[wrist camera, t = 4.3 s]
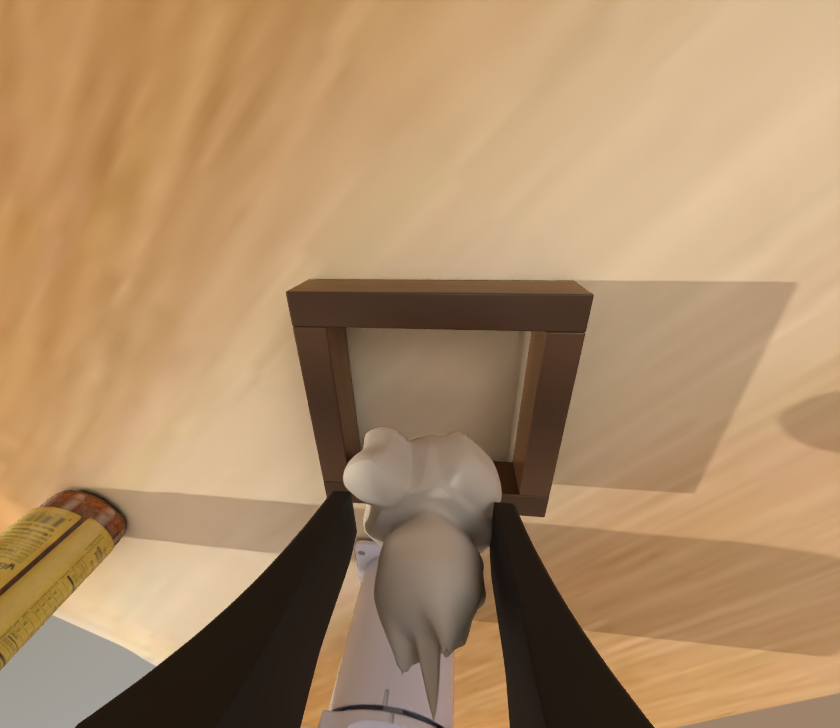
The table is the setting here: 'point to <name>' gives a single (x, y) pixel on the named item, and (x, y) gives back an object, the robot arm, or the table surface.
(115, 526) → the sauce bottle
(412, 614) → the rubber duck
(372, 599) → the robot arm
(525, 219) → the table surface
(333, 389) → the brown wooden square frame
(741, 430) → the table surface
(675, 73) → the table surface
